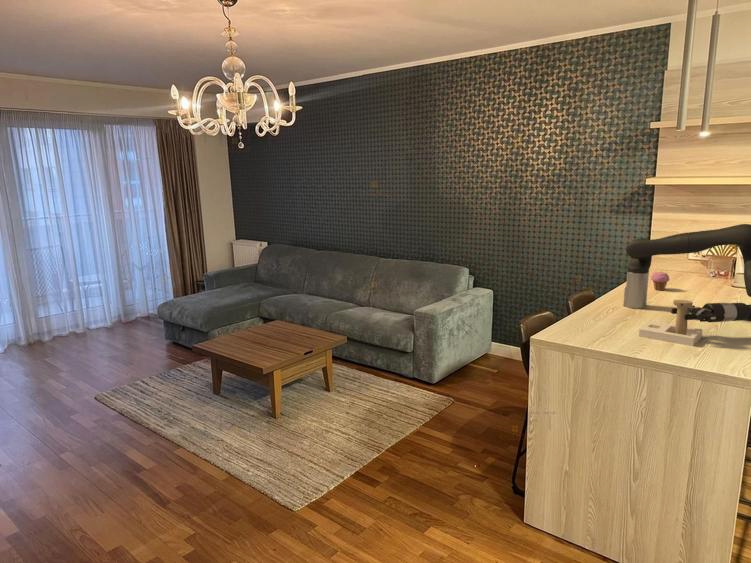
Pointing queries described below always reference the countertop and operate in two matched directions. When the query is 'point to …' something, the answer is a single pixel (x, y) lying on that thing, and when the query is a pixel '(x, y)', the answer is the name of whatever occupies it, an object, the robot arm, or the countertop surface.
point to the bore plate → (670, 333)
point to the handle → (681, 315)
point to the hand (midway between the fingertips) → (678, 314)
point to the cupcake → (660, 280)
